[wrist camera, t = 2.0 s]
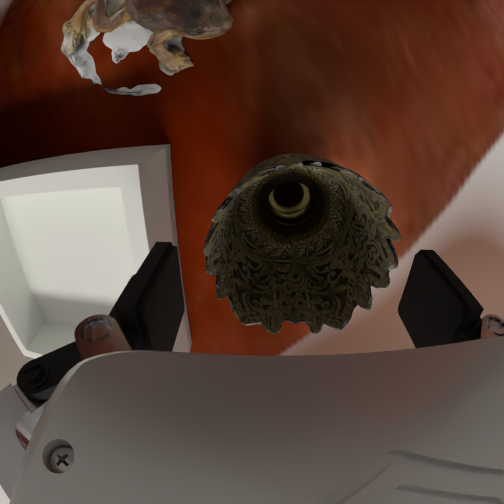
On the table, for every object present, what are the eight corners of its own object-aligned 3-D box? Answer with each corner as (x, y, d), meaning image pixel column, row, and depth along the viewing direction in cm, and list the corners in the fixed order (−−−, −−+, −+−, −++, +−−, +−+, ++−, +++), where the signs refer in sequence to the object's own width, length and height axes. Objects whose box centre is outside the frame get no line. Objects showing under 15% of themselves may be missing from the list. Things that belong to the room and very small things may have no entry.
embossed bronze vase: (222, 241, 19) (202, 330, 12) (230, 126, 16) (205, 153, 9) (334, 253, 19) (367, 340, 13) (359, 144, 16) (425, 186, 9)
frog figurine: (291, -34, 11) (298, -62, 7) (196, 126, 16) (179, 135, 13) (131, -71, 8) (108, -93, 5) (53, 74, 14) (17, 76, 10)
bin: (-4, 168, 16) (-45, 191, 12) (170, 144, 16) (137, 164, 12) (46, 321, 24) (23, 355, 20) (191, 341, 24) (180, 389, 20)
